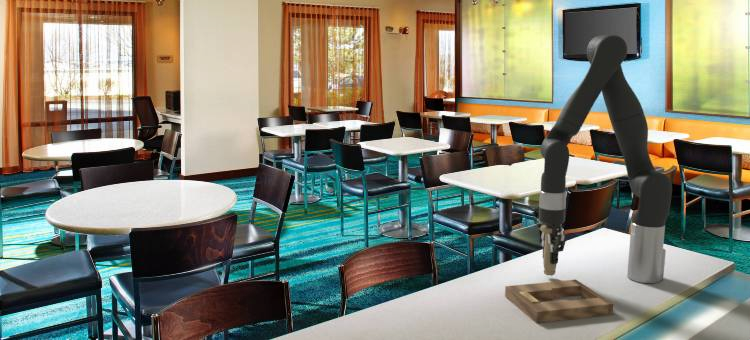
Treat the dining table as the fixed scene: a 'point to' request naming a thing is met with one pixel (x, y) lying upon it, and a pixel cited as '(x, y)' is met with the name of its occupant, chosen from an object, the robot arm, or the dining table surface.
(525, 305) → the square wooden frame
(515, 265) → the dining table surface
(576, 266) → the dining table surface
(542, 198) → the robot arm
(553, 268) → the handle
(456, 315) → the dining table surface
